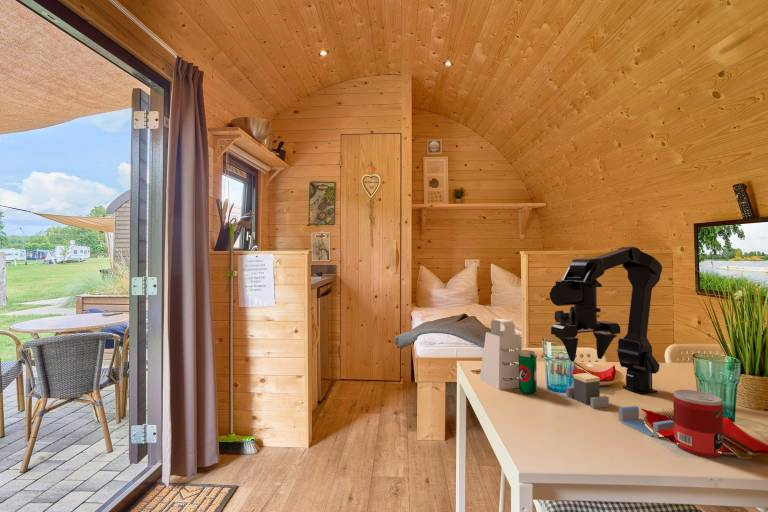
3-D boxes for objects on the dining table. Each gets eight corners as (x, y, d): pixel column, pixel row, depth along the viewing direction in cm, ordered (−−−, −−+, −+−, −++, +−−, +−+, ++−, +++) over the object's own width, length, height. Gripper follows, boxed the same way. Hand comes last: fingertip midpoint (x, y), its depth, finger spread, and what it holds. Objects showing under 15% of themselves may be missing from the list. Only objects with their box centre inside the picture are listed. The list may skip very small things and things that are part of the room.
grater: (506, 376, 132) (506, 317, 133) (527, 386, 123) (526, 321, 123) (479, 379, 129) (479, 318, 129) (498, 389, 119) (498, 323, 119)
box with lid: (587, 397, 112) (586, 373, 112) (600, 403, 108) (599, 377, 108) (573, 399, 111) (573, 374, 111) (586, 405, 106) (585, 379, 106)
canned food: (727, 462, 76) (726, 404, 76) (675, 451, 80) (675, 397, 80) (719, 446, 83) (718, 393, 83) (672, 437, 87) (671, 387, 87)
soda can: (538, 395, 114) (537, 353, 114) (520, 394, 115) (519, 353, 115) (535, 389, 119) (534, 350, 119) (517, 388, 120) (517, 349, 120)
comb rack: (582, 394, 115) (581, 383, 115) (676, 435, 88) (676, 421, 88) (564, 396, 113) (564, 385, 113) (655, 438, 86) (655, 424, 86)
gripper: (590, 299, 120) (591, 351, 120) (537, 302, 115) (538, 355, 115) (621, 303, 109) (622, 360, 109) (564, 306, 104) (565, 365, 104)
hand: (586, 360), depth 109 cm, fingers open, 9 cm apart
